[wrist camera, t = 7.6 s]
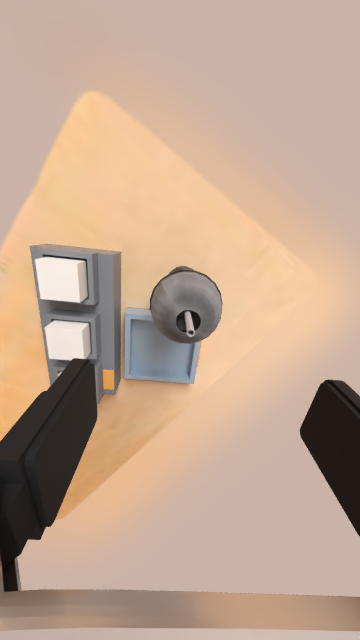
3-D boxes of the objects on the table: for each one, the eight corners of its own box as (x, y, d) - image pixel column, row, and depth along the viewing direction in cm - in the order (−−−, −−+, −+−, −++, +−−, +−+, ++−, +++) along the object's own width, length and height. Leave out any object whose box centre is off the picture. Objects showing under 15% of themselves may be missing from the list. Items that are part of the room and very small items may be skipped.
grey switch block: (120, 379, 39) (107, 414, 31) (63, 375, 38) (36, 410, 31) (120, 251, 30) (103, 257, 23) (47, 243, 30) (5, 247, 22)
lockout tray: (193, 374, 39) (195, 383, 36) (127, 369, 38) (124, 378, 36) (203, 314, 34) (205, 320, 32) (128, 307, 34) (125, 313, 31)
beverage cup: (161, 306, 34) (143, 399, 15) (155, 258, 31) (124, 300, 12) (207, 302, 34) (247, 391, 15) (206, 254, 31) (252, 289, 12)
